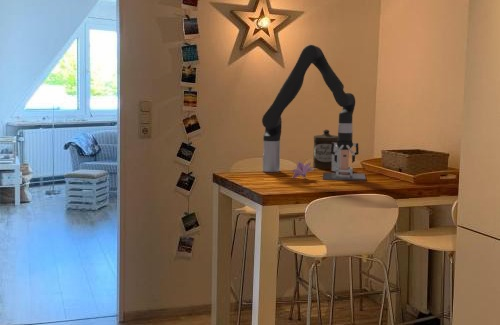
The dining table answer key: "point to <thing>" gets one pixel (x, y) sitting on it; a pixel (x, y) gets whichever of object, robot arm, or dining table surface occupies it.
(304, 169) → the lily
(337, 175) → the collar stand
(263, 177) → the dining table surface
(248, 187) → the dining table surface
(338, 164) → the skincare box
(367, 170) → the dining table surface
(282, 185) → the dining table surface
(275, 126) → the robot arm
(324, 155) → the labeled lidded canister
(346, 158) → the pink rectangular block
